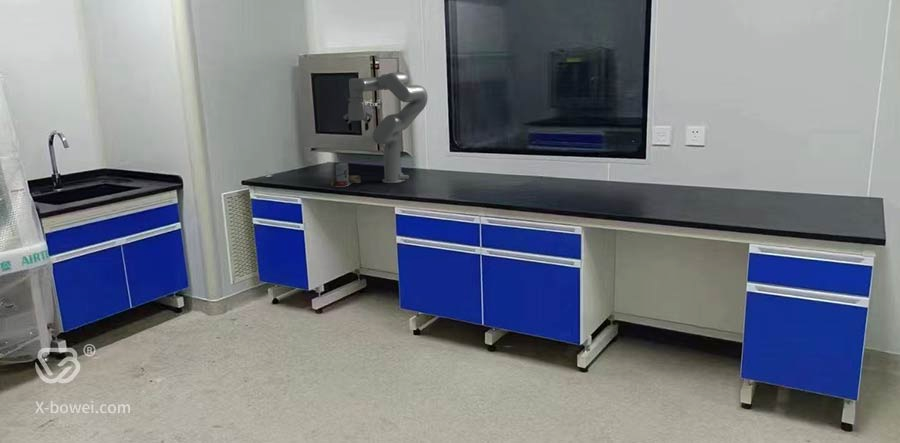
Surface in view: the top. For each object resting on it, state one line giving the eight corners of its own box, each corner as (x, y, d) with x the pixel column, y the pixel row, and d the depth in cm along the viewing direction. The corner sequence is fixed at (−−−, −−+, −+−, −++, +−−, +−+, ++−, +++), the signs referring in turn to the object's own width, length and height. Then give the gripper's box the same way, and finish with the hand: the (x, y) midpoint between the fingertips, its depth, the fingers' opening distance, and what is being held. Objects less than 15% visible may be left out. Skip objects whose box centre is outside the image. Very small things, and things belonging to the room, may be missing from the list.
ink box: (345, 186, 369) (343, 165, 367) (336, 186, 370) (335, 165, 367) (349, 183, 378) (348, 162, 375) (341, 183, 378) (339, 162, 376)
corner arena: (360, 182, 380) (360, 175, 379) (353, 186, 368) (353, 179, 367) (338, 182, 382) (338, 175, 381) (330, 186, 370) (330, 179, 370)
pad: (351, 183, 378) (351, 183, 378) (345, 186, 369) (345, 186, 368) (341, 183, 379) (341, 183, 379) (334, 186, 370) (334, 186, 370)
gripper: (340, 101, 380) (342, 131, 384) (369, 100, 377) (371, 130, 381) (344, 100, 388) (346, 129, 392) (373, 99, 384) (375, 129, 388)
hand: (358, 130), depth 386 cm, fingers open, 9 cm apart
